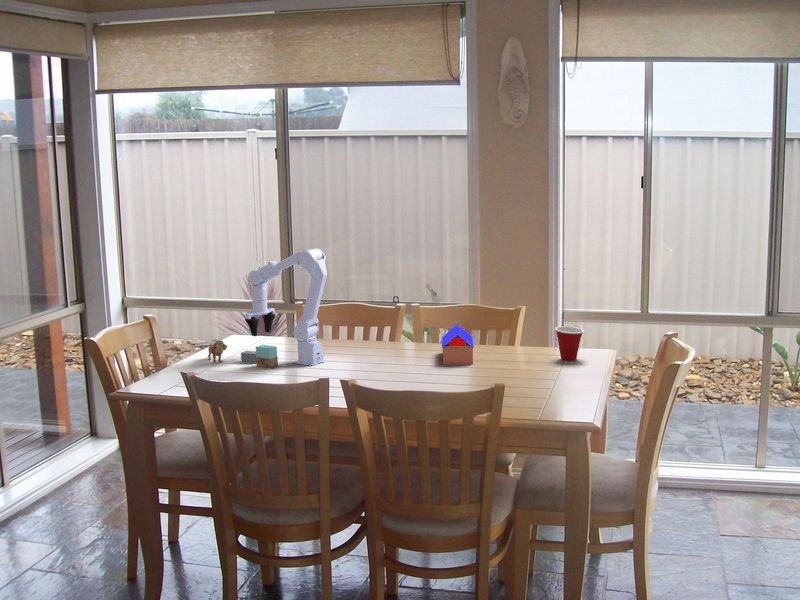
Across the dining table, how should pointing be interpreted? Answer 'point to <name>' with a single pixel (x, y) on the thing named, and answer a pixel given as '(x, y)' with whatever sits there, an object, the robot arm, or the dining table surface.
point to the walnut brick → (267, 362)
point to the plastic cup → (568, 342)
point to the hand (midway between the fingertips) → (261, 334)
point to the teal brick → (266, 351)
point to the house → (457, 347)
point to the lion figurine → (216, 350)
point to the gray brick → (248, 357)
